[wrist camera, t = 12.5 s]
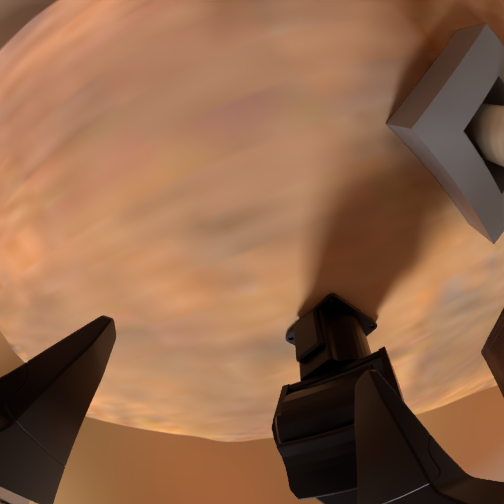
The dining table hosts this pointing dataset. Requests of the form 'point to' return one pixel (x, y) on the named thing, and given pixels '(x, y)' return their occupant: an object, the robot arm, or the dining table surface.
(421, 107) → the socket
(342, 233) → the dining table surface
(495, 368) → the pepper mill
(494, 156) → the peg
